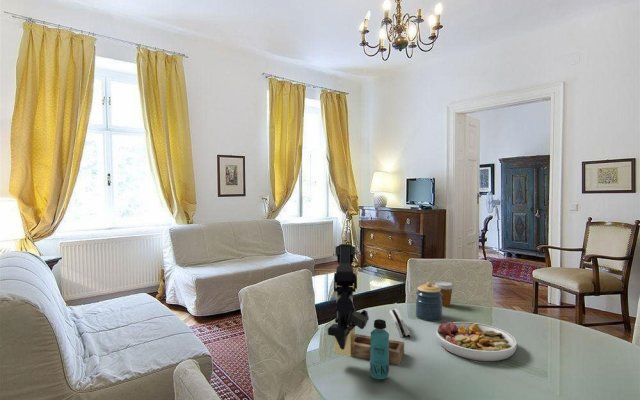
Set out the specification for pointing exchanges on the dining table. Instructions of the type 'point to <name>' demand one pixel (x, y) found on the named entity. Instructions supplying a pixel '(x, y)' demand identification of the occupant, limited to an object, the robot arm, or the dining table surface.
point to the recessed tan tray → (365, 342)
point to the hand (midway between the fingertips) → (344, 346)
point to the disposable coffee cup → (445, 292)
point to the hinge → (399, 323)
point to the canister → (429, 302)
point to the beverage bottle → (379, 350)
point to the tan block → (347, 343)
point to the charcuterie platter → (476, 341)
